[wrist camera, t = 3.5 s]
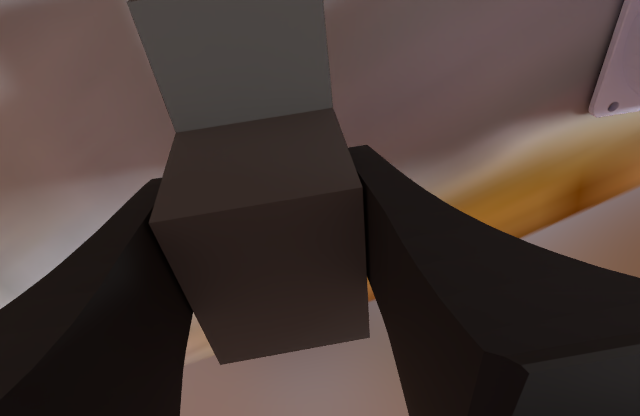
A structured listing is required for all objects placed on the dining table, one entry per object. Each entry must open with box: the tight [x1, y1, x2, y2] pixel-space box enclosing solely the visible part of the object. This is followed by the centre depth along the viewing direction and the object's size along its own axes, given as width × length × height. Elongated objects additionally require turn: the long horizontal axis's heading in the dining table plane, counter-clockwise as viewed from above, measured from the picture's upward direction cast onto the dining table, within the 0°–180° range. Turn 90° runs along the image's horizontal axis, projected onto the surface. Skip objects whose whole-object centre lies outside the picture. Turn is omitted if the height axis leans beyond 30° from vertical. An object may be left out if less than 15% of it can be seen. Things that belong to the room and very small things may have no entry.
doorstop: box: [127, 0, 370, 365], centre depth 10 cm, size 8×4×6 cm, turn 6°
